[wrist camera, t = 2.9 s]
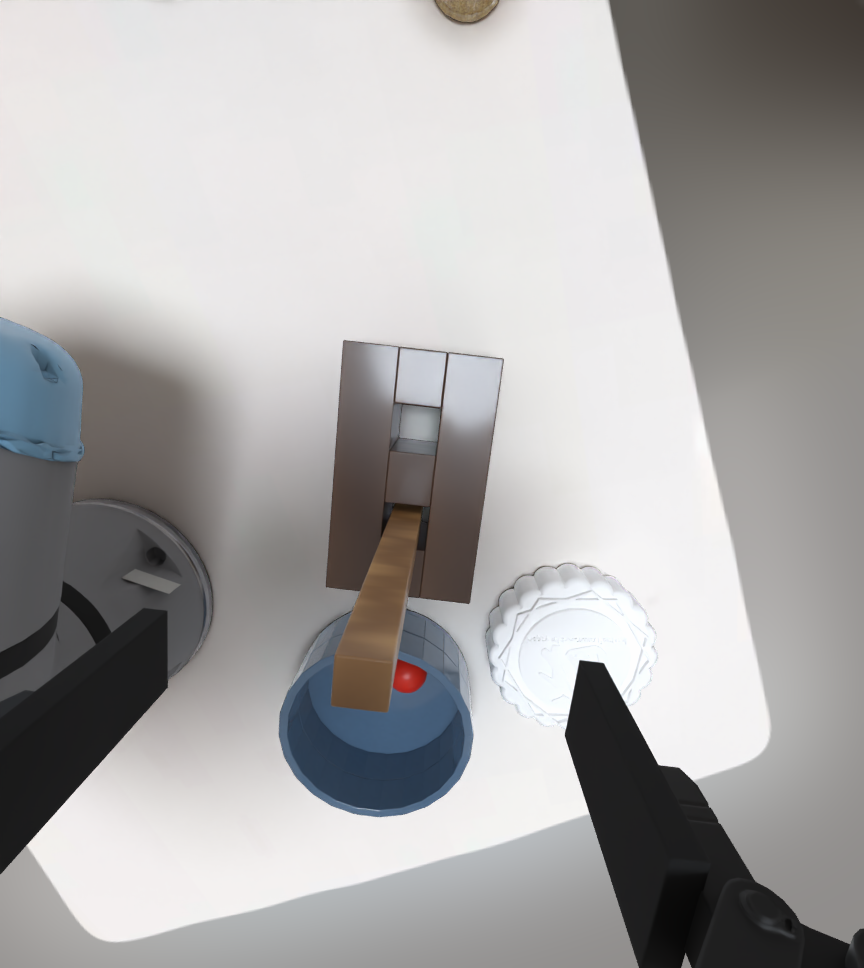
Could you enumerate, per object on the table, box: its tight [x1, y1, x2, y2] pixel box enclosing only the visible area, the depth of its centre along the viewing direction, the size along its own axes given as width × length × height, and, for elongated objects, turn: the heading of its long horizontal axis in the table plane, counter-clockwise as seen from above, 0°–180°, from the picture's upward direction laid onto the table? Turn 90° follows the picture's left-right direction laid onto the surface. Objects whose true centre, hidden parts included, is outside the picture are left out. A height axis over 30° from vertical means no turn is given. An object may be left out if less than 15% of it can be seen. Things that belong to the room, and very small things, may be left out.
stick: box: [331, 503, 423, 713], centre depth 26 cm, size 2×2×22 cm
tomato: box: [393, 659, 427, 693], centre depth 37 cm, size 3×3×3 cm
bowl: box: [279, 610, 473, 817], centre depth 37 cm, size 13×13×6 cm
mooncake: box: [486, 564, 658, 729], centre depth 37 cm, size 12×12×4 cm
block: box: [326, 340, 504, 604], centre depth 33 cm, size 9×15×6 cm, turn 174°
